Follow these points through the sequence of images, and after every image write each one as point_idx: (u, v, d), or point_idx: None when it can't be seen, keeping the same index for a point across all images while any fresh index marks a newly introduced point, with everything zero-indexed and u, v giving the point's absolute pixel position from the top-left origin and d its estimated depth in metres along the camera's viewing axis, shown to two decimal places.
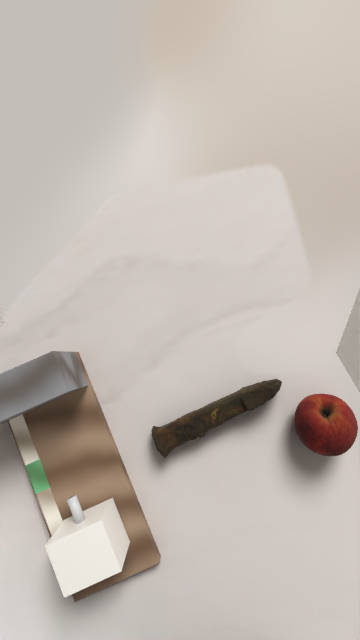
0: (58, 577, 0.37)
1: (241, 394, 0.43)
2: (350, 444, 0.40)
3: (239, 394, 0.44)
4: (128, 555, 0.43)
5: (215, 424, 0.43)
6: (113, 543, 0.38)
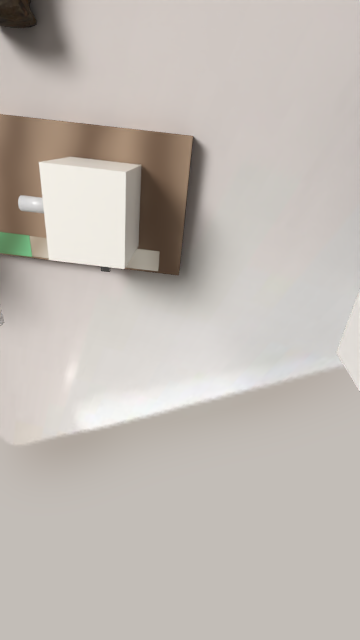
0: (96, 263, 0.26)
1: None
2: None
3: None
4: (159, 178, 0.28)
5: None
6: (88, 166, 0.23)
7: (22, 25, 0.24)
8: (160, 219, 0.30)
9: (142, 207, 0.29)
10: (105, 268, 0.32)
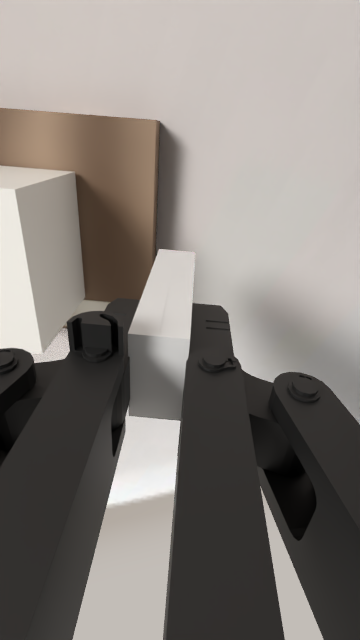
0: None
1: None
2: None
3: None
4: (107, 192, 0.17)
5: None
6: None
7: None
8: (114, 255, 0.19)
9: (85, 239, 0.19)
10: None
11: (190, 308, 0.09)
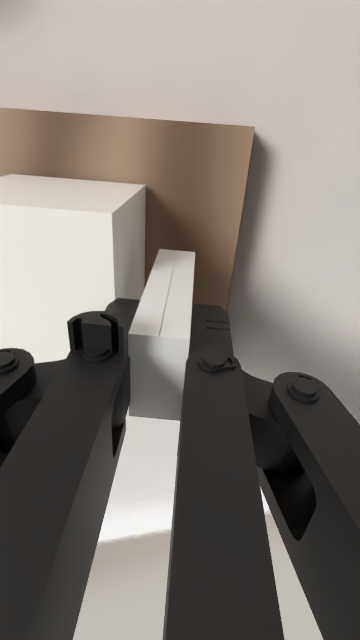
0: None
1: None
2: None
3: None
4: (188, 208, 0.15)
5: None
6: (27, 200, 0.10)
7: None
8: None
9: None
10: None
11: (190, 308, 0.09)
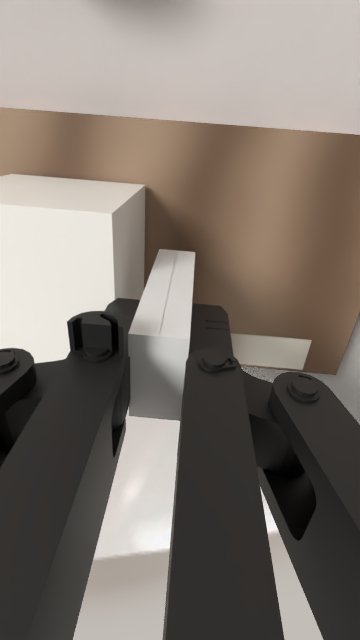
0: None
1: None
2: None
3: None
4: (338, 221, 0.15)
5: None
6: (26, 200, 0.10)
7: None
8: (323, 289, 0.17)
9: (294, 271, 0.16)
10: None
11: (190, 308, 0.09)
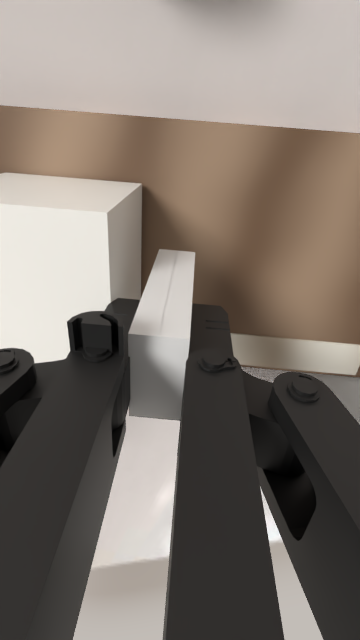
0: None
1: None
2: None
3: None
4: None
5: None
6: (20, 199, 0.10)
7: None
8: None
9: (356, 276, 0.16)
10: None
11: (190, 308, 0.09)
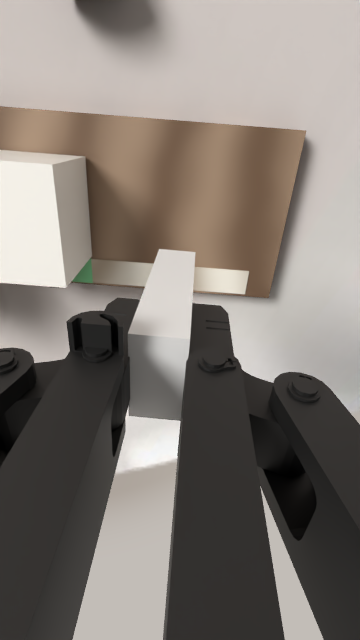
0: (29, 282, 0.20)
1: None
2: None
3: None
4: (258, 184, 0.23)
5: None
6: (5, 159, 0.18)
7: None
8: (253, 233, 0.25)
9: (233, 220, 0.24)
10: None
11: (190, 308, 0.09)
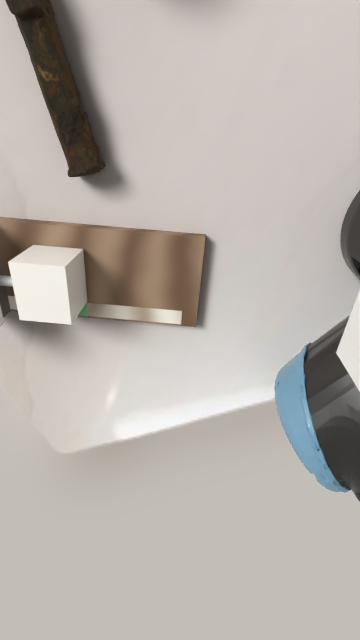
0: (51, 321, 0.38)
1: None
2: None
3: (17, 19, 0.28)
4: (182, 264, 0.40)
5: (60, 76, 0.30)
6: (41, 261, 0.35)
7: (97, 171, 0.35)
8: (182, 289, 0.42)
9: (169, 282, 0.41)
10: None
11: None
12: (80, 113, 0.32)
